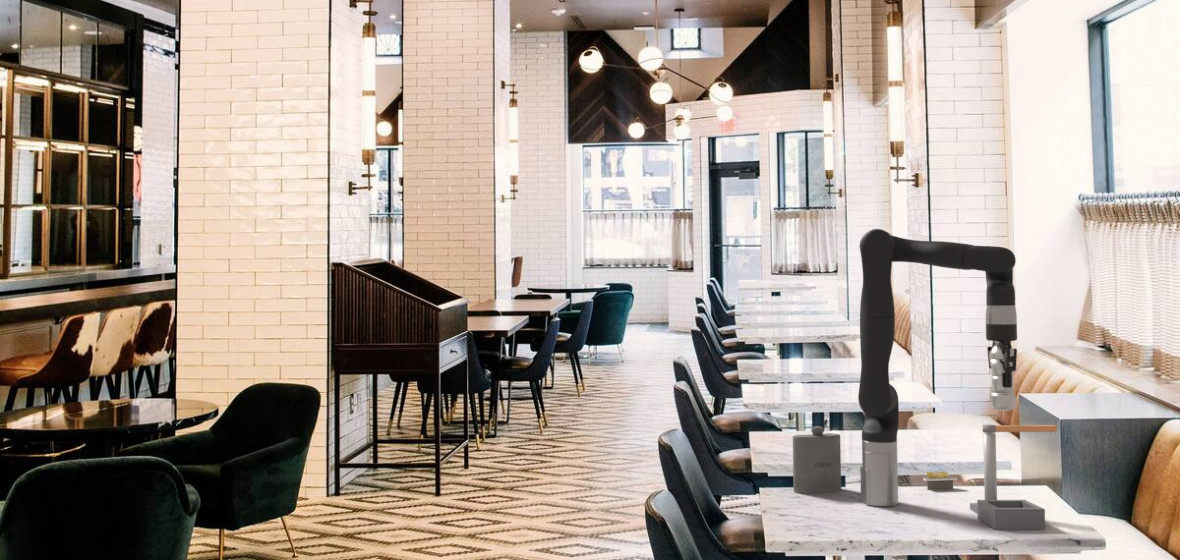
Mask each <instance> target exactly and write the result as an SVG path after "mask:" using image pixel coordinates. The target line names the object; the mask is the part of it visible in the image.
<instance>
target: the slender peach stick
mask: <svg viewBox="0 0 1180 560" xmlns="http://www.w3.org/2000/svg"><path fill="white" fill-rule="evenodd" d="M1057 432H1058V427H1057V425H1055V424H1054V425H1053V424H1048V425H1047V424H1046V425H1045V424H1044V425H1043V424H1033V425H1032V424H1031V425H1029V424H1027V425H1026V424H1025V425H1023V424H1022V425H1021V424H1020V425H1018V424H1017V425H1016V424H1014V425H1013V424H1011V425H1009V424H1008V425H1006V424H1005V425H1004V424H1003V425H1000V424H999V425H995V424H982V433H995V434H996V433H1057Z"/></svg>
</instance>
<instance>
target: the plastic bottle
mask: <svg viewBox="0 0 1180 560" xmlns="http://www.w3.org/2000/svg"><path fill="white" fill-rule="evenodd" d="M994 342H995V345H994V347H993V348H992V350H991V351H990V354H989V358H990V365H991V369H990V370H991V389H990V390H991V391H990V395H989V404H990V408H991V409H993V410H996V411H1000V412H1008V411H1014V410H1015V408H1016V405H1017V398H1016V393H1015V385H1014V372H1015V371H1013V373H1012V387H1011V388H1004V387H1003V386H1002V369H1001V365H1000V364H999V358H1000V359H1002V361H1005V355H1003V354H1002V351H1001V348H1000V345H999V341H994ZM996 348H997V349H996ZM1004 365H1005V364H1004ZM1008 366H1009V364H1008Z"/></svg>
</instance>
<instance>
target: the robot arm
mask: <svg viewBox="0 0 1180 560" xmlns="http://www.w3.org/2000/svg"><path fill="white" fill-rule="evenodd" d="M859 252H860V258H861V266H862V269H861V270H862V288H861V297H860V307H859V308H860V309H859V338H860V340H859V341H860V345H859V347H860V361H861V363H860V365H861V366H860V367H861V369H860V379H859V388H858V394H857V395H858V396H857V397H858V398H857V399H858V404H859V406H860V409H861V410H862V412H864V421H863V427H862V430H861V456H862V457H861V459H862V465H861V466H860V470H859V471H860V501H861V502H862V503H864V504H865V505H866V506H873V507H874V506H875V507H894V506H897V505H899V482H898V481H899V480H898V479H899V474H898V432H899V423H900V422H899V420H900V419H899V415H900V414H899V412H900V411H899V408H900V407H899V404H900V403H899V395H898V393H897V390H896V388H895V387H894V386H893V385H892V384H891V383H890V377H889V376H890V375H889V374H890V373H889V368H890V365H889V364H890V359H891V354H892V351H893V345H894V341H895V336H896V335H895V333H896V318H895V317H896V314H895V313H896V312H895V302H894V296H893V295H894V292H893V287H892V267H893V266H892V265H893V262H894V263H895V262H898V263H899V262H900V263H915V264H922V265H928V266H933V267H940V268H946V269H954V270H964V271H967V270H968V271H969V270H970V271H972V270H973V271H974V270H975V271H981V272H985V273H984V274H985V282H986V291H985V292H986V293H985V294H986V296H985V297H986V298H985V299H986V310H985V340H986V341H990V342H992V345H991V346H987V349H986V350H987V358H988V359H987V361H988V368H989V369H990V370H991V365H990V358H989V354H990V351H991V350H992V348H993V347H994V345H995V342H994V341H999V345H1000V348H1001V351H1002V354H1003V355H1005V361H1002V359H1000V358H999V364H1000V365H1001V369H1002V386H1003V387H1004V388H1011V387H1012V373H1013V371H1014V372H1016V370H1017V359H1018V358H1017V357H1018V349H1017V348H1013V346H1012V342H1015V341H1017V339H1018V320H1017V319H1018V317H1017V315H1018V313H1017V309H1016V289H1015V286H1014V273H1013V272H1014V267H1015V265H1016V262H1017V261H1016V259H1017V258H1016V256H1015V253H1014V252H1013V251H1012V250H1010V249H1009V248H1007V247H1003V246H992V245H991V246H990V245H974V244H969V243H963V242H962V243H961V242H951V241H939V240H918V239H917V240H916V239H908V238H904V237H900V236H896V235H895V236H894V235H892V234H890V233H889V232H888V231H886V230H884V229H881V228H873V229H870V230H868V231H867V232H865V233H864V235H862V237H861V239H860V241H859ZM996 349H997V348H996ZM1004 364H1005V365H1004ZM1008 364H1009V366H1008ZM1013 374H1014V373H1013Z"/></svg>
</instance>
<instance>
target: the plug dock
mask: <svg viewBox="0 0 1180 560" xmlns="http://www.w3.org/2000/svg"><path fill="white" fill-rule="evenodd" d="M982 433H983V434H982V437H983V438H982V439H983V443H982V444H983V446H982V447H983V482H984V485H983V487H984V499H976V501H977V502H969V510H971V511H972V512H974V513H975V514H977V521H979V522H981V523H983V524H985V525H986V526H988V527H989V528H991V529H993V530H995V531H1000V530H1001V531H1006V530H1007V531H1019V530H1020V531H1025V530H1026V531H1037V530H1039V531H1041V530H1042V531H1045V530H1046V509H1045V508H1043V507H1041V506H1039V505H1037V504H1034V503H1032V502H1030V501H1028V500H1026V499H998V479H997V478H998V477H997V475H998V474H997V441H996V438H997V437H996V436H997V435H996V433H985V432H982Z"/></svg>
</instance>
